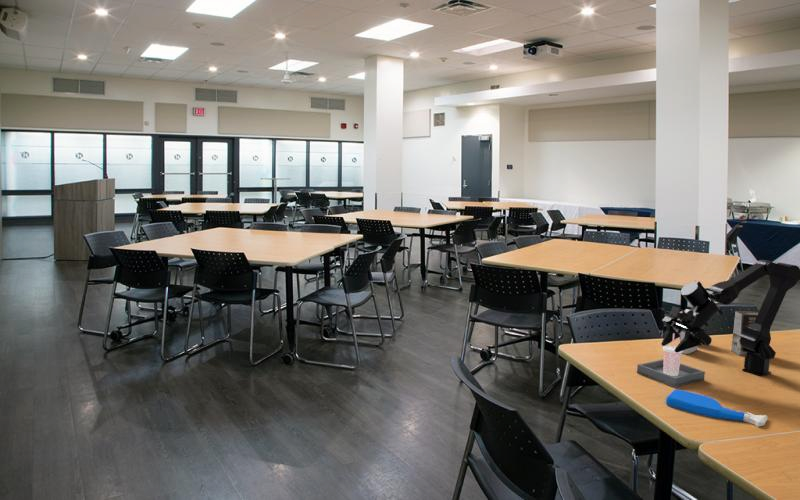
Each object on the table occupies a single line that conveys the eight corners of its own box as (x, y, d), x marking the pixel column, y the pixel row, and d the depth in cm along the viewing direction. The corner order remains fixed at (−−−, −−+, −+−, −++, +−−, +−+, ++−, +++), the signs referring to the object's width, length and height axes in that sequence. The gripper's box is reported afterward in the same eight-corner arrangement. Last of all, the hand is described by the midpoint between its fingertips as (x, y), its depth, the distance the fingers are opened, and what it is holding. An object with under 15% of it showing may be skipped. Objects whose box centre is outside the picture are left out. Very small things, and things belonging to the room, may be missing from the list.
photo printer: (687, 347, 221) (689, 316, 219) (698, 349, 217) (701, 319, 216) (677, 352, 213) (679, 321, 212) (689, 355, 210) (691, 323, 209)
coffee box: (738, 355, 210) (742, 314, 208) (730, 350, 217) (734, 310, 214) (764, 356, 209) (768, 315, 207) (755, 351, 216) (759, 311, 214)
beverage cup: (658, 374, 187) (661, 333, 185) (662, 369, 192) (665, 329, 190) (678, 378, 183) (682, 337, 181) (682, 373, 188) (685, 333, 186)
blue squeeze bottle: (664, 397, 163) (763, 423, 147) (675, 387, 171) (769, 410, 155) (663, 406, 163) (761, 434, 147) (674, 396, 171) (768, 420, 155)
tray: (704, 380, 184) (704, 371, 184) (674, 387, 178) (675, 378, 177) (665, 366, 197) (666, 358, 197) (637, 372, 190) (637, 364, 190)
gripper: (668, 293, 194) (638, 325, 193) (706, 305, 175) (672, 340, 175) (687, 314, 196) (657, 346, 196) (726, 328, 178) (692, 363, 177)
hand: (668, 348), depth 186 cm, fingers open, 7 cm apart
